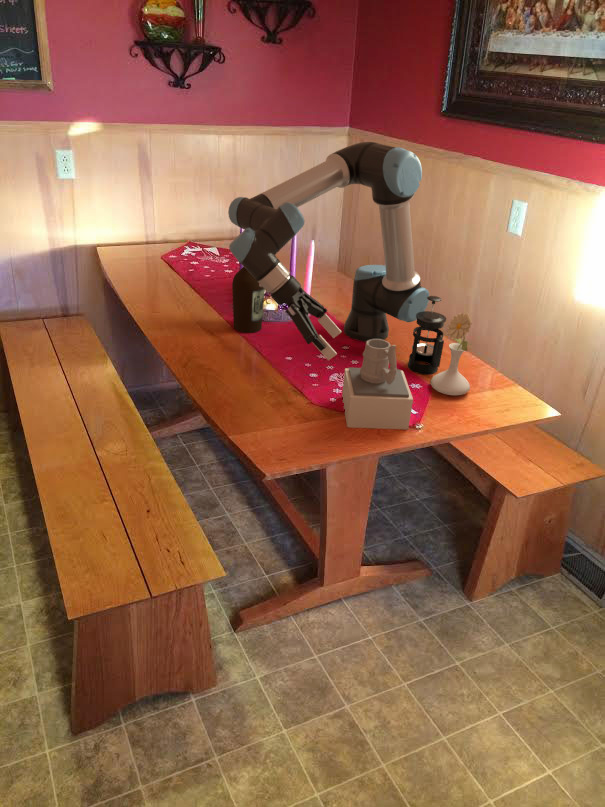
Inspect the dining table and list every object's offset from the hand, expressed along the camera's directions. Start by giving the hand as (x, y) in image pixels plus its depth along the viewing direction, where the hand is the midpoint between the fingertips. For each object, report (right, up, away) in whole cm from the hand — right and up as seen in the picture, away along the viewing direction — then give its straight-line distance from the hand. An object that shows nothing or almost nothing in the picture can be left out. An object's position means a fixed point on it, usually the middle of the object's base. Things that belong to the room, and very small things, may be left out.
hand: (335, 345), depth 172 cm
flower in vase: (+34, -12, +22) cm, 42 cm away
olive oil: (-27, +10, +52) cm, 59 cm away
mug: (+12, -9, +3) cm, 15 cm away
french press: (+29, -4, +34) cm, 45 cm away
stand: (+11, -17, +8) cm, 22 cm away
